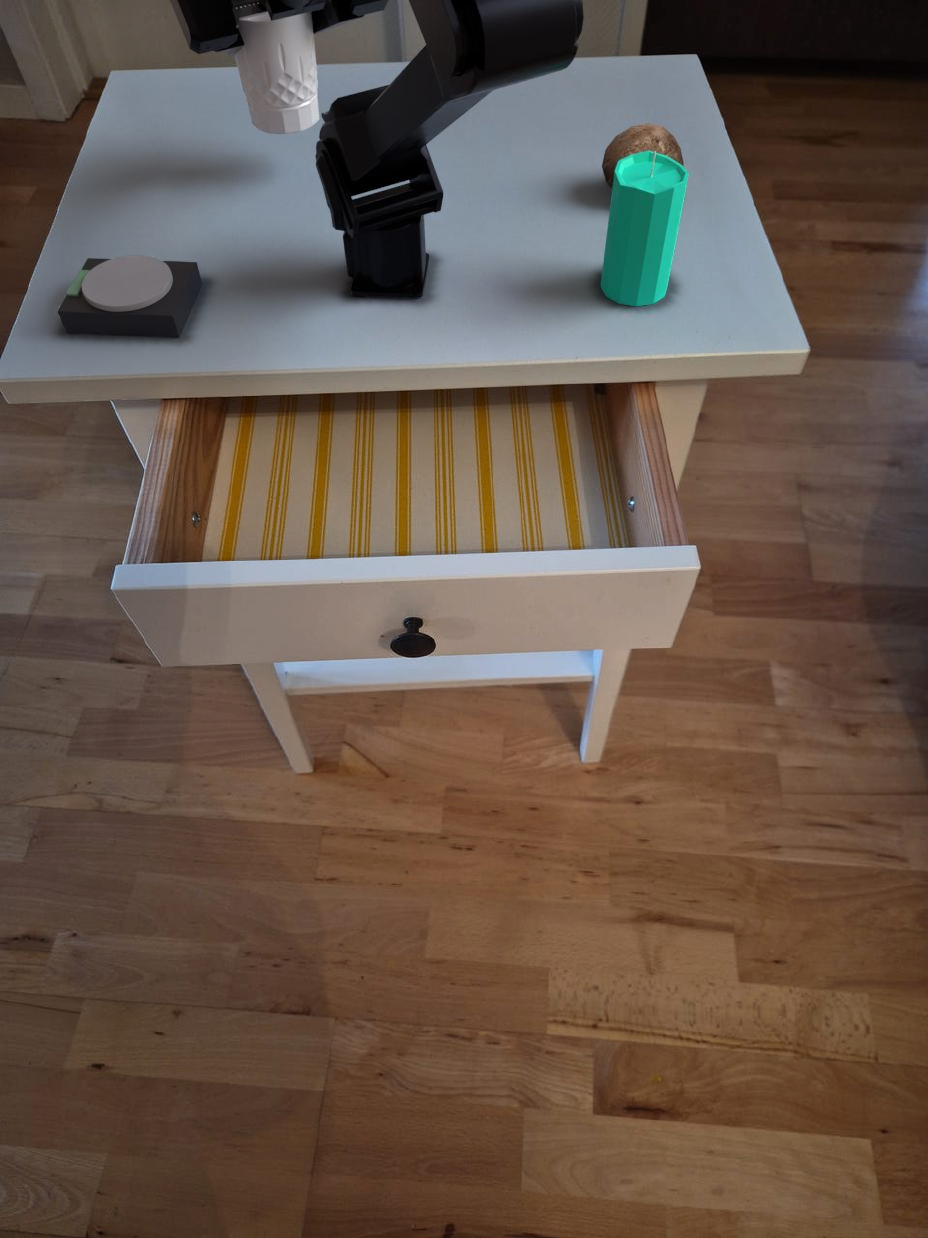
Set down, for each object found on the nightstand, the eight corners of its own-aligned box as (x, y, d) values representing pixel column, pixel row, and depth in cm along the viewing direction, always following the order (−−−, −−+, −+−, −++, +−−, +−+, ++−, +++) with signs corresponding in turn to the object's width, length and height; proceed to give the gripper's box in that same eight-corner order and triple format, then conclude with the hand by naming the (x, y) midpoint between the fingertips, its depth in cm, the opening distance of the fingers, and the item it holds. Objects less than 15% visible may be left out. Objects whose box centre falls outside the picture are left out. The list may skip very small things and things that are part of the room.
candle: (598, 266, 83) (614, 132, 73) (664, 267, 83) (688, 133, 73) (602, 306, 80) (619, 170, 70) (670, 306, 79) (697, 171, 70)
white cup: (339, 123, 89) (325, 7, 81) (266, 145, 87) (244, 28, 79) (304, 94, 93) (287, -19, 85) (233, 114, 91) (209, -1, 83)
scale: (202, 283, 82) (195, 255, 80) (179, 337, 78) (170, 309, 75) (95, 279, 83) (85, 251, 81) (66, 333, 78) (53, 304, 76)
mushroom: (607, 130, 92) (631, 94, 86) (675, 167, 93) (704, 134, 87) (580, 200, 91) (602, 169, 85) (649, 236, 92) (676, 207, 86)
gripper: (363, -197, 72) (324, -69, 87) (135, -160, 66) (135, -30, 81) (416, -50, 74) (369, 51, 89) (199, -2, 69) (187, 97, 83)
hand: (268, 40), depth 85 cm, fingers closed on white cup, 7 cm apart
